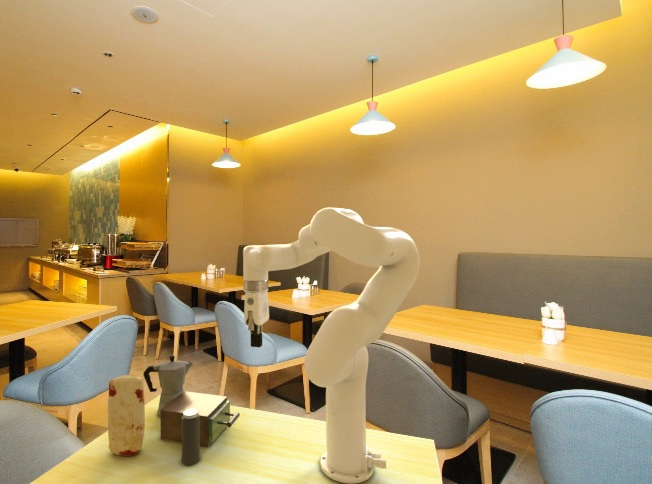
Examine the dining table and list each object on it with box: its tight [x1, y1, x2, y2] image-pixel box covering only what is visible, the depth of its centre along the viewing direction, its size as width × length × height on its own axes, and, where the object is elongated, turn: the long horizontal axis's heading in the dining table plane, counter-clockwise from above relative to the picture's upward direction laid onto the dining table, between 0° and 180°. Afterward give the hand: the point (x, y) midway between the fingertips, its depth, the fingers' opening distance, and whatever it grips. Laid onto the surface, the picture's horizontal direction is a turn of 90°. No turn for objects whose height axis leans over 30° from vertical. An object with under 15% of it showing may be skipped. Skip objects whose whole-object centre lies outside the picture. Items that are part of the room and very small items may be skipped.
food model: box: [107, 374, 146, 457], centre depth 93 cm, size 10×7×20 cm
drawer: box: [208, 399, 240, 444], centre depth 102 cm, size 18×11×6 cm, turn 74°
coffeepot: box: [143, 355, 194, 416], centre depth 115 cm, size 15×9×18 cm, turn 114°
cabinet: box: [159, 390, 228, 448], centre depth 103 cm, size 15×13×8 cm
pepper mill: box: [181, 409, 201, 466], centre depth 89 cm, size 4×4×12 cm
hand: (256, 346), depth 107 cm, fingers closed
